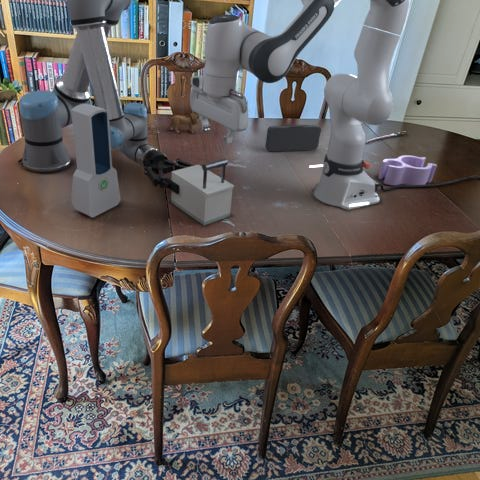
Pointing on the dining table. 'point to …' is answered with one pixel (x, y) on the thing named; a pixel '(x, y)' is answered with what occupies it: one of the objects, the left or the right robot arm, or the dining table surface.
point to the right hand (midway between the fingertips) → (216, 136)
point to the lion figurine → (185, 121)
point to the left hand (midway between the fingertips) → (192, 185)
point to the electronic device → (93, 162)
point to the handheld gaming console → (292, 137)
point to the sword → (384, 137)
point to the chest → (201, 203)
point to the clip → (406, 171)
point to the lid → (205, 177)
